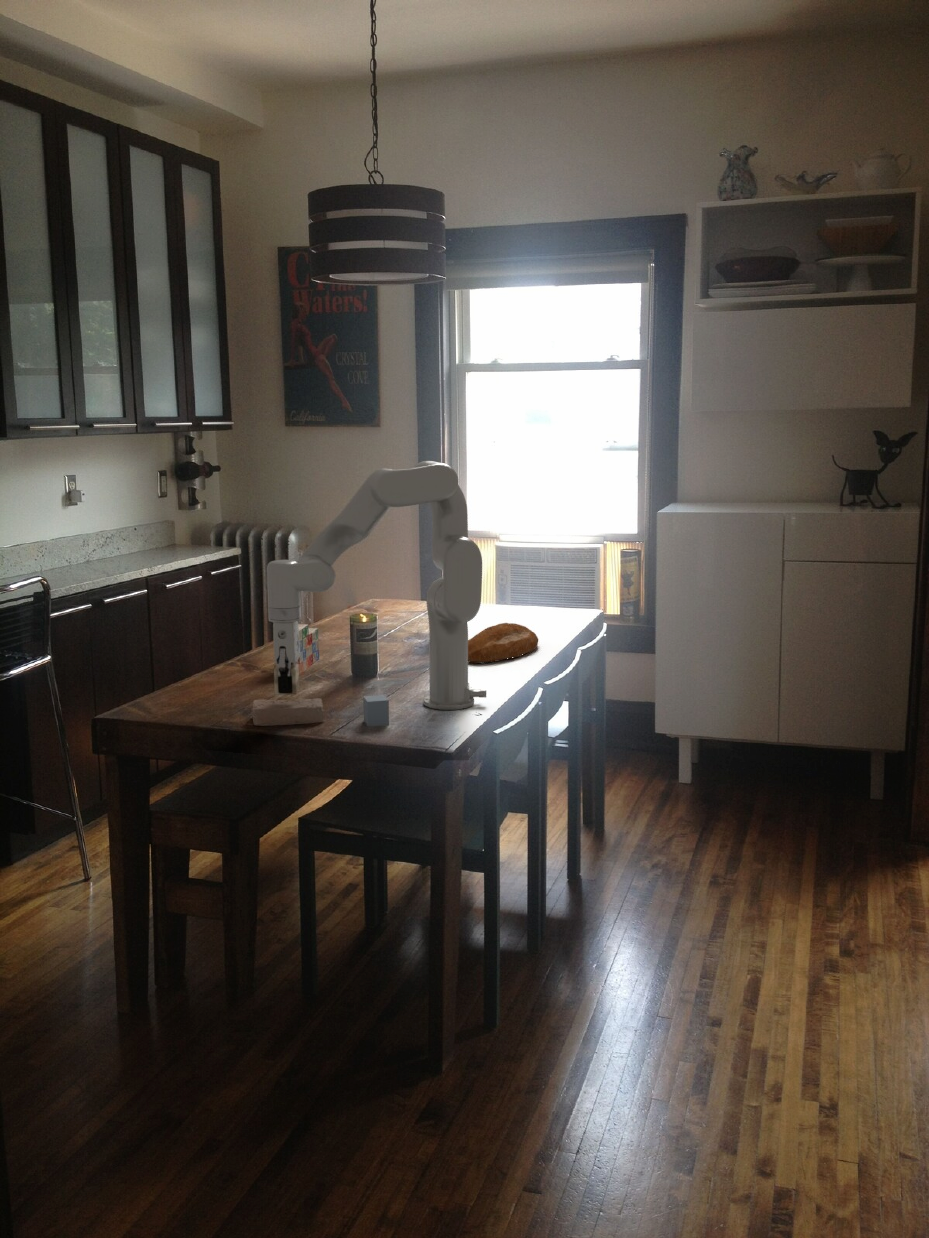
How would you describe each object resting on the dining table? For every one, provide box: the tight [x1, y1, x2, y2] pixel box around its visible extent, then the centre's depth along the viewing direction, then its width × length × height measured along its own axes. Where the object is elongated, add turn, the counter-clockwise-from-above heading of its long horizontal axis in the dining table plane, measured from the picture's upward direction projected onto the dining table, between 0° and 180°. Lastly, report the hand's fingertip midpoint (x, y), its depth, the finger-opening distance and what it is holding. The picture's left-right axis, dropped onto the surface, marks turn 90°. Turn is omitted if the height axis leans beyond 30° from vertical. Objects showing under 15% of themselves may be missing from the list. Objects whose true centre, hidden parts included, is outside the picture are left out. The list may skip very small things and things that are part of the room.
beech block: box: [273, 664, 300, 696], centre depth 257 cm, size 5×5×6 cm
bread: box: [468, 622, 539, 664], centre depth 327 cm, size 18×35×9 cm, turn 145°
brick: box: [251, 697, 325, 727], centre depth 259 cm, size 16×8×5 cm, turn 101°
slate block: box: [362, 694, 390, 728], centre depth 256 cm, size 5×5×6 cm
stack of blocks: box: [274, 623, 320, 675], centre depth 309 cm, size 21×6×12 cm, turn 170°
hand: (287, 688), depth 258 cm, fingers closed on beech block, 4 cm apart
